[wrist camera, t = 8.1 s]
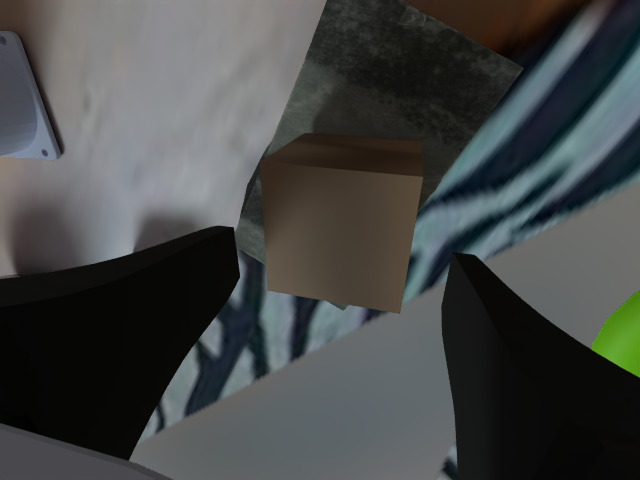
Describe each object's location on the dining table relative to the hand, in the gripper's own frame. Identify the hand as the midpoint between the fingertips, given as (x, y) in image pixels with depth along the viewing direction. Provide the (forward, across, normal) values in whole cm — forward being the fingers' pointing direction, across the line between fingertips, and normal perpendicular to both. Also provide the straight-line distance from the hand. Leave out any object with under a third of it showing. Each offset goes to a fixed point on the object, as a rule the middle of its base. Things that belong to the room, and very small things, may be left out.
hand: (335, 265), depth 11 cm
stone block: (+11, +2, -1) cm, 11 cm away
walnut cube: (+6, 0, -1) cm, 6 cm away
